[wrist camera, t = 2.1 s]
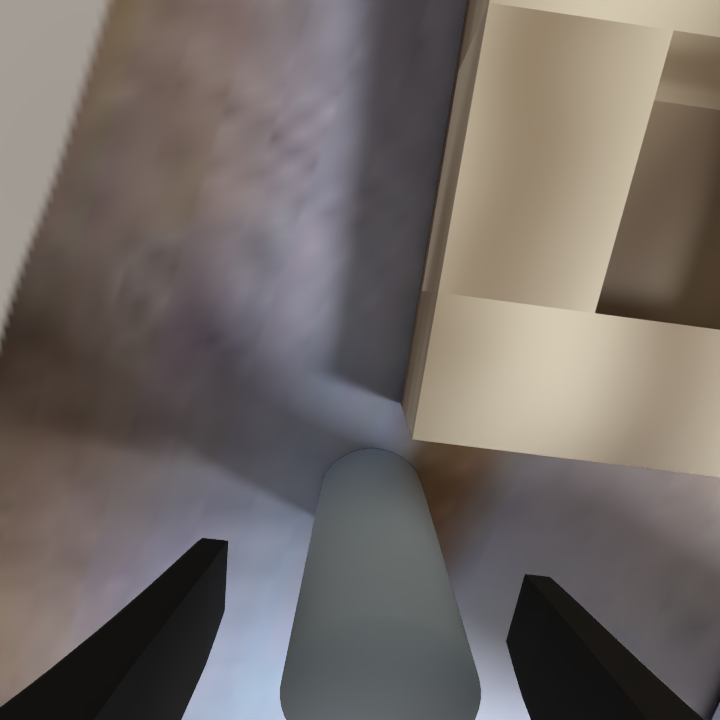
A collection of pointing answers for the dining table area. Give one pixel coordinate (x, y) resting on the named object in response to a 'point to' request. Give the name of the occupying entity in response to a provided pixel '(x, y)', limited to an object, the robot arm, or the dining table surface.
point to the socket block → (577, 238)
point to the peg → (377, 605)
